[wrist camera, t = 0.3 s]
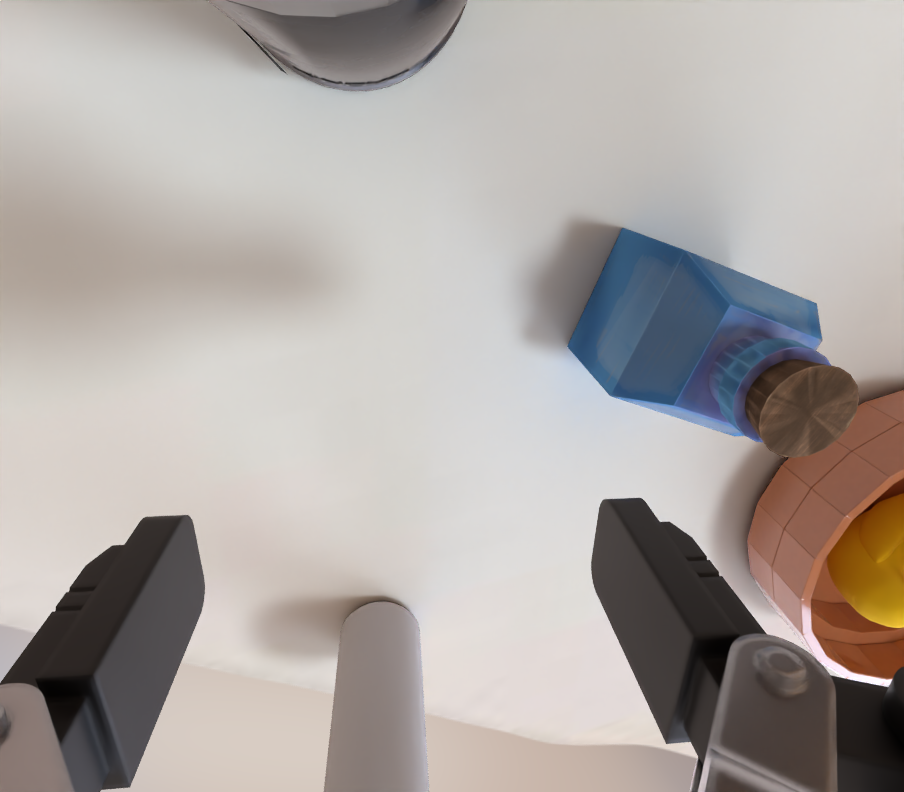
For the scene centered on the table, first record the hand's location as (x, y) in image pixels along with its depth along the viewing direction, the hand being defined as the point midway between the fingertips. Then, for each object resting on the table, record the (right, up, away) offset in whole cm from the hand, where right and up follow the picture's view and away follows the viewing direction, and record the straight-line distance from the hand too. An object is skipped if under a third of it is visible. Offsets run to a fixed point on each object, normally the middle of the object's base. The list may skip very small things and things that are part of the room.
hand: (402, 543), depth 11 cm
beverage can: (-4, -11, +24) cm, 27 cm away
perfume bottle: (+11, +7, +17) cm, 22 cm away
